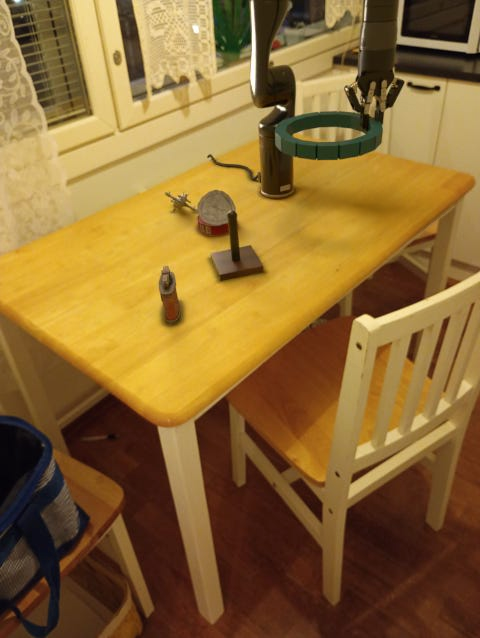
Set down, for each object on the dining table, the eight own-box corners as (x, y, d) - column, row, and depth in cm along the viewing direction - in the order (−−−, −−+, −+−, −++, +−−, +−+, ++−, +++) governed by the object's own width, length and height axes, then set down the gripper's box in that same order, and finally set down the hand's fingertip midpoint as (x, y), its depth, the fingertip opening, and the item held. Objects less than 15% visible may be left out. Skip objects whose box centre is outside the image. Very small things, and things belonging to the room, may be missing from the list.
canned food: (235, 236, 142) (250, 206, 135) (218, 250, 134) (233, 220, 128) (201, 212, 143) (215, 182, 136) (182, 225, 135) (196, 194, 129)
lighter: (165, 301, 112) (157, 261, 106) (180, 300, 112) (174, 260, 106) (163, 325, 105) (155, 283, 99) (180, 323, 105) (173, 282, 99)
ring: (263, 133, 125) (262, 120, 123) (354, 118, 129) (354, 105, 127) (296, 167, 107) (296, 152, 105) (400, 149, 111) (402, 135, 109)
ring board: (210, 258, 124) (204, 205, 116) (251, 250, 126) (247, 197, 118) (220, 280, 117) (214, 225, 108) (263, 272, 118) (260, 216, 110)
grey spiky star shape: (194, 200, 151) (204, 201, 142) (185, 219, 151) (194, 221, 143) (164, 183, 146) (172, 182, 138) (154, 202, 147) (161, 203, 138)
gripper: (399, 37, 112) (391, 119, 123) (338, 45, 110) (335, 128, 121) (417, 43, 107) (407, 129, 117) (353, 51, 104) (349, 139, 115)
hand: (370, 128), depth 119 cm, fingers closed on ring, 2 cm apart
